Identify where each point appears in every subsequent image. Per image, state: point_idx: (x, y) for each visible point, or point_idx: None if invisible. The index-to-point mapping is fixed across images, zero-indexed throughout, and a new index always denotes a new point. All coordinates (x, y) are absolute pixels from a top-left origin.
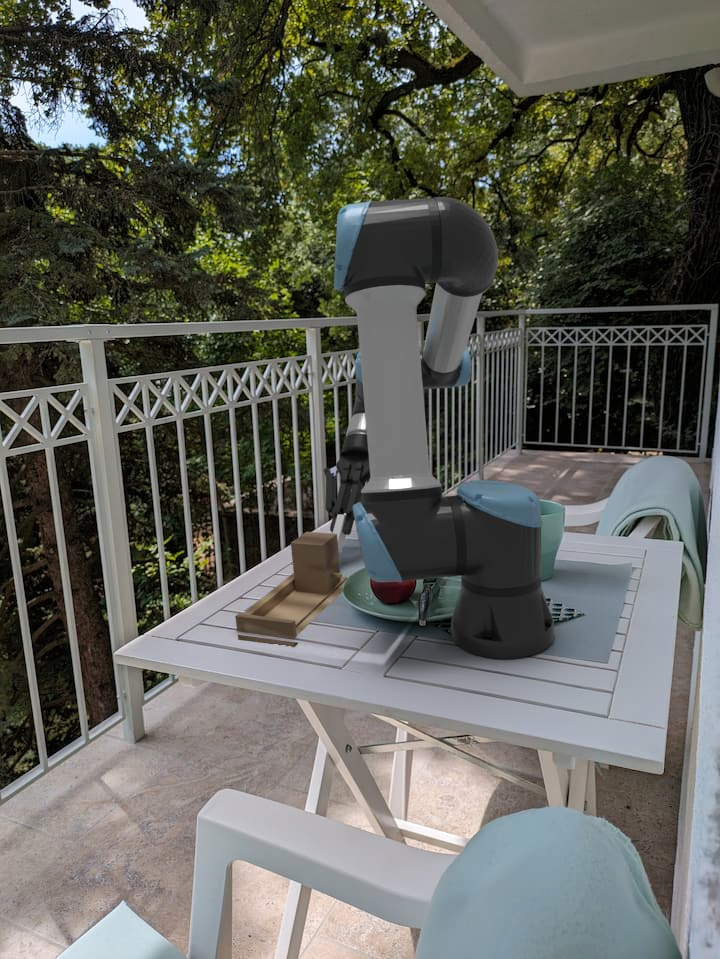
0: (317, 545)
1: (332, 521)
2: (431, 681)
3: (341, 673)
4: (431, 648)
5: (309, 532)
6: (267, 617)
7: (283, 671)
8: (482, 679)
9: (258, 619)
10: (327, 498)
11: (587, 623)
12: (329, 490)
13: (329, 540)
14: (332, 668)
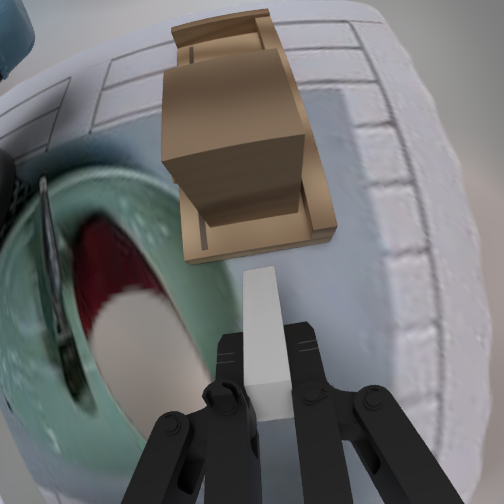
0: (180, 67)
1: (316, 357)
2: (35, 97)
3: (109, 56)
4: (32, 139)
5: (285, 130)
6: (216, 20)
7: (168, 29)
8: (3, 126)
9: (227, 14)
10: (413, 449)
11: None
12: (430, 501)
13: (163, 109)
14: (120, 55)
